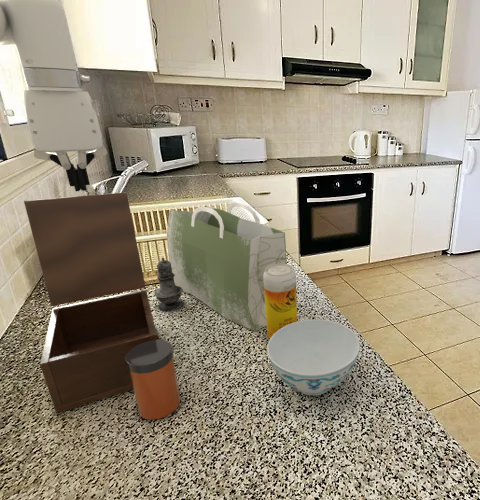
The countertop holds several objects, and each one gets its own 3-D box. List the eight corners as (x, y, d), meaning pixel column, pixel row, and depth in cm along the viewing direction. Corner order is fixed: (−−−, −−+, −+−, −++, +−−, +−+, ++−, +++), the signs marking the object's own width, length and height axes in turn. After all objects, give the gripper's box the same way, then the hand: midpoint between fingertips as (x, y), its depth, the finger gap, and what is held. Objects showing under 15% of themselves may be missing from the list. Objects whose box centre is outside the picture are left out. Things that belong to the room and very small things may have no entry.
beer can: (284, 348, 72) (280, 278, 67) (261, 338, 75) (256, 270, 70) (303, 333, 77) (302, 267, 71) (281, 324, 80) (278, 260, 74)
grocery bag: (300, 306, 87) (297, 210, 79) (253, 332, 77) (244, 225, 68) (217, 270, 105) (207, 188, 96) (169, 287, 94) (154, 197, 86)
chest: (165, 378, 64) (156, 334, 60) (56, 413, 56) (39, 364, 53) (153, 327, 78) (146, 289, 74) (65, 349, 70) (52, 308, 67)
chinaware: (261, 365, 67) (259, 328, 65) (338, 347, 73) (339, 312, 70) (281, 427, 55) (279, 385, 52) (373, 399, 60) (375, 360, 57)
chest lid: (126, 192, 70) (126, 192, 70) (23, 200, 62) (24, 200, 63) (145, 287, 74) (145, 286, 75) (51, 306, 66) (51, 305, 67)
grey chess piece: (150, 308, 85) (141, 259, 80) (171, 296, 90) (163, 250, 86) (170, 313, 83) (161, 264, 78) (190, 301, 88) (183, 254, 84)
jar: (129, 410, 57) (115, 356, 53) (164, 386, 62) (154, 335, 58) (155, 426, 54) (143, 370, 51) (190, 399, 59) (181, 347, 56)
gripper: (106, 84, 69) (126, 182, 76) (0, 80, 62) (33, 189, 69) (106, 83, 63) (128, 189, 70) (-10, 79, 56) (26, 198, 63)
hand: (81, 189), depth 69 cm, fingers closed
